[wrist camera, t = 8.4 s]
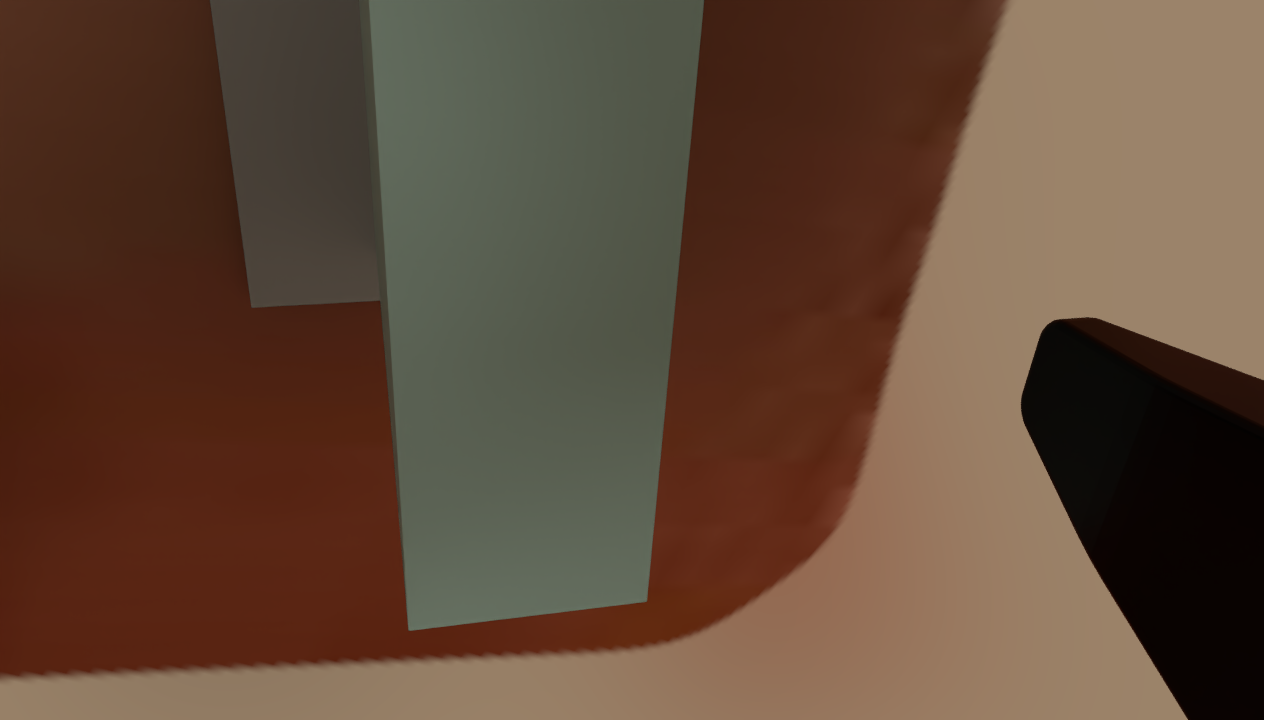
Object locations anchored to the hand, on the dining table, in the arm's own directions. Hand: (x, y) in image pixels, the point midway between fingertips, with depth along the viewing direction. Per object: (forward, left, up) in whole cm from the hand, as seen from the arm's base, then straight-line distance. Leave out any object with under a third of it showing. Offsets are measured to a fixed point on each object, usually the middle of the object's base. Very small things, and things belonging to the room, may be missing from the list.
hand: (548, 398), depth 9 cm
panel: (0, 0, -12) cm, 13 cm away
